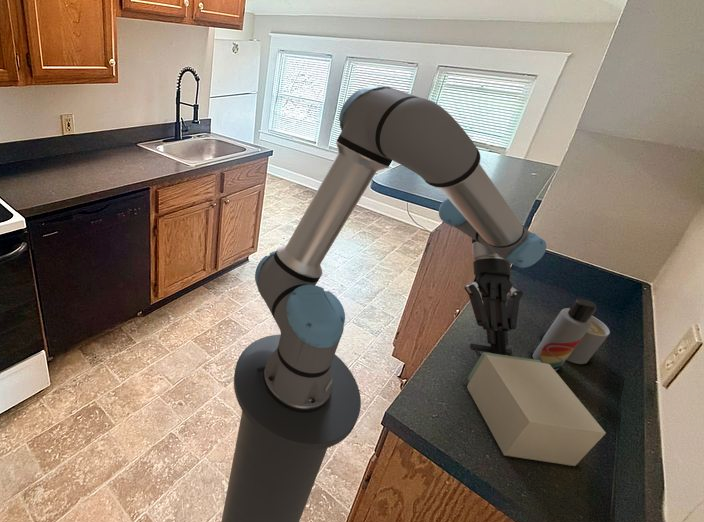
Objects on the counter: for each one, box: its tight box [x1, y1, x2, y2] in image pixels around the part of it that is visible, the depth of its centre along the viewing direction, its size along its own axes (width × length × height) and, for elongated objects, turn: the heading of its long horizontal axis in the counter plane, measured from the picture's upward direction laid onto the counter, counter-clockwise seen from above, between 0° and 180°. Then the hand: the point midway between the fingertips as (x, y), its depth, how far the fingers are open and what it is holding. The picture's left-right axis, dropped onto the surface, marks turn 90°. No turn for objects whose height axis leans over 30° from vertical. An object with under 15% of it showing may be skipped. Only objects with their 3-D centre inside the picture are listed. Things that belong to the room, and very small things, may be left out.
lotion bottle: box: [532, 298, 598, 372], centre depth 92 cm, size 6×6×20 cm
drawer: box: [467, 342, 541, 383], centre depth 83 cm, size 21×12×9 cm, turn 175°
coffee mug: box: [542, 307, 611, 365], centre depth 101 cm, size 13×10×10 cm
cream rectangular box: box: [466, 355, 607, 467], centre depth 78 cm, size 16×14×11 cm
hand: (499, 359), depth 88 cm, fingers closed
